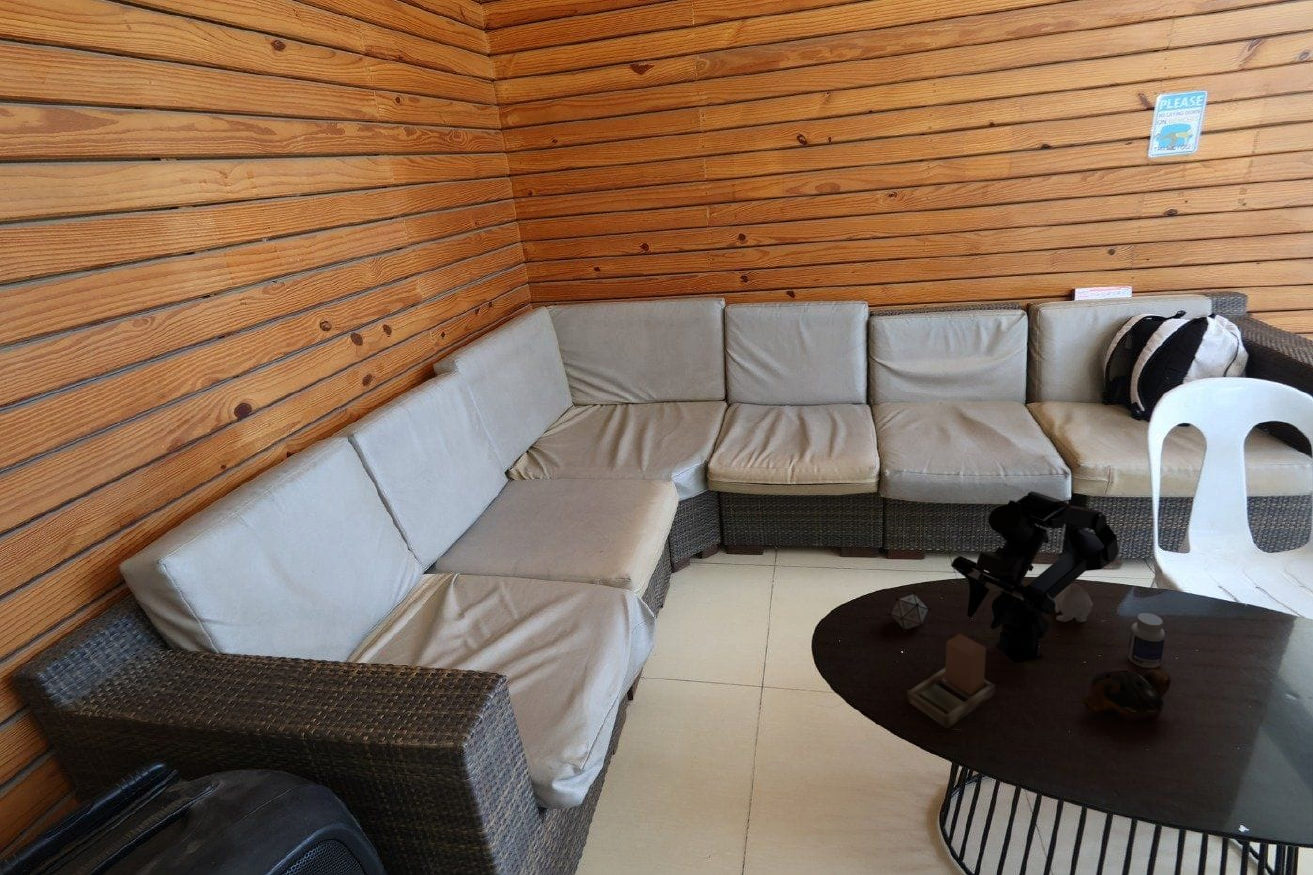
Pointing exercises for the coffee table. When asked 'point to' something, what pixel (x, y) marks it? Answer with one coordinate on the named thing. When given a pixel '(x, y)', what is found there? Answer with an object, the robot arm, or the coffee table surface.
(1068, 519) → the robot arm
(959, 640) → the terracotta block
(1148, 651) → the pill bottle
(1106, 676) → the decorative turtle
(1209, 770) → the coffee table surface
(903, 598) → the game die
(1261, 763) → the coffee table surface
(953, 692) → the box
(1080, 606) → the white bear figurine
